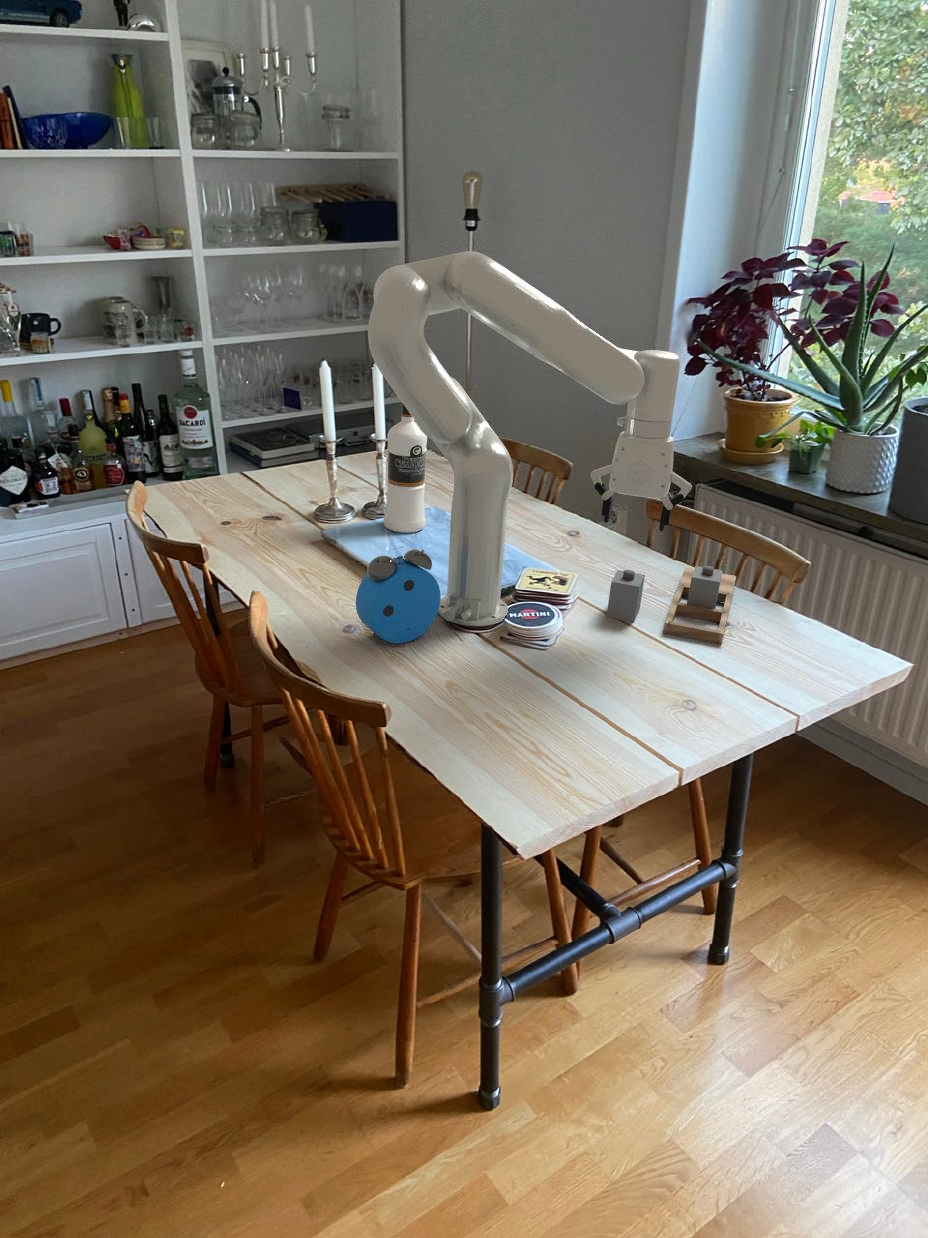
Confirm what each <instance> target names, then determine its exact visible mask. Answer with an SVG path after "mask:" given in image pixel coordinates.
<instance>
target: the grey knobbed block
mask: <svg viewBox="0 0 928 1238" xmlns="http://www.w3.org/2000/svg"><path fill="white" fill-rule="evenodd" d="M723 571H724V570H721V569H717V568H715V567H713V566H710V565H703V566H697V565H695V566H694V572H693V575H692V578H691V584H690V589H689V595H688V597H687V601H686V604H690V605H696V606H701V607H706V608H712V609H716V606H717V604H718V603H717V598H718V593H719V587H720V582H721V577H722V574H723Z"/></svg>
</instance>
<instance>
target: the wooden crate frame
mask: <svg viewBox="0 0 928 1238" xmlns="http://www.w3.org/2000/svg"><path fill="white" fill-rule="evenodd" d="M694 569H695V567H693V568H692V567H688V566H685V567H684V569H683V572H682V575H681V577H680V580H679V583H678V585H677V589H676V592H675V594H674V597H673V600H672V603H671V605H670V608H669V609H668V613H667V615H666V619H665V621H664V628H663V631H662V633H663V634H666V635H667V634H668V635H672V636H676V637H678V636H679V637H682V638H686V639H692V640H697V641H698V640H699V641H701V642H702V641H703V642H709V643H713V644H717V645H722V643H723V638H724V635H725V629H726V625H727V621H728V616H729V612H730V607H731V603H732V598H733V595H734V594H733V593H734V589H735V584H736V580H737V575H733V574H729V573H728V574H727V573H722V577H721V582H720V587H719V593H718V598H717V602H724V604H723V609H716V608H715V609H712V608H706V607H701V606H696V605H690V604H687V603H685V602H684V603H683V602H681V600H682V598H683V597H684V598H688V595H689V589H690V584H691V578H692V575H693V572H694ZM677 615H678V616H682V617H683V616H684V617H689V618H694V619H698V620H703V621H704V620H705V621H709V620H710V621H709V622H714V621H716V622H715V623H719V622H720V623H719V624H718V629H713V628H708V627H707V628H706V627H703V626H697V625H692V624H686V623H682V622H676V621H674V620H675V618H676V616H677Z"/></svg>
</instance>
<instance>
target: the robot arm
mask: <svg viewBox="0 0 928 1238" xmlns="http://www.w3.org/2000/svg"><path fill="white" fill-rule="evenodd" d="M373 302H374V303H373V306H372V309H371V312H370V316H369V319H368V326H367V339H368V340H367V341H368V345H369V346H368V347H369V351H370V355H371V357H372V359H373V362H374V364H375V365H376V366H377V368H378V370H379V372H380V373H381V374H382V377H383V378H384V379H385V380H386V382H387V383H388V385H389V386H390V387H391V389H392V390H393V392H394V393H395V394H396V397H398V399H399V400H400V402H401V403H403V404H404V406H405V407H406V408H407V410H408V411H409V412H410V414H411V415H412V417H413V418H414V422H415V423H416V424H417V425H418V427H419V428H420V430H421V431H422V432H423V433H424V434H425V435H426V436H427V438H428V439H431V441H432V442H433V443H434V444H435V446H436V448H437V449H438V450H439V451H440V453H442V456H444V457H445V459H446V460H447V462H448V463H449V465H450V466H451V469H452V471H453V475H454V476H453V478H454V480H453V493H452V501H451V507H450V508H451V509H450V522H449V523H450V524H449V529H450V531H449V533H450V534H449V547H448V548H449V550H448V551H449V552H448V565H447V566H448V568H447V584H446V585H447V586H446V587H447V589H446V595H445V596H443V597H441V598H440V606H439V610H438V613H437V614H439V615H440V617H442V618H443V619H445V621H448V622H451V623H454V624H457V625H460V626H465V627H466V626H467V627H487V626H493V625H495V624H499V623H501V622H502V621H504V620H503V618H504V617H505V616H506V615H507V616H508V614H507V613H509V607H508V604H507V603H506V602H505V601H504V600H503V599H501V592H502V581H503V579H502V578H503V571H504V570H503V568H504V557H505V556H504V555H505V554H504V553H505V543H506V532H507V531H506V529H507V520H508V519H507V518H508V517H507V516H508V511H509V510H508V509H509V503H510V495H511V492H512V487H513V480H514V465H513V462H512V461H513V460H512V458H511V455H510V453H509V451H508V449H507V448H506V446H505V444H504V442H502V441H501V439H500V438H499V436H498V435H497V433H496V432H495V431H494V430H493V428H492V427H491V425H490V424H489V422H488V421H487V420H486V419H485V416H483V414H482V413H481V411H480V410H479V409H478V407H477V406H476V404H475V403H474V402H473V401H472V399H471V398H470V396H469V395H468V394H467V392H466V391H465V389H464V388H463V386H462V385H461V384H460V382H459V381H457V379H455V378H454V377H452V376H450V375H449V373H448V371H447V370H446V368H445V367H443V365H442V363H441V362H440V361H439V359H438V357H437V356H436V355H435V353H434V352H433V350H432V349H431V347H430V346H429V344H428V343H427V341H426V338H425V337H426V336H425V324H426V322H427V319H428V317H429V316H432V315H437V314H442V313H447V312H451V311H454V310H459V309H462V310H463V311H464V312H466V313H467V314H469V315H470V316H471V317H473V318H475V319H477V321H480V322H481V323H483V324H484V325H486V326H488V327H489V328H491V329H492V330H494V331H495V332H497V333H498V334H500V335H502V336H503V337H504V338H506V339H508V340H509V341H510V342H512V343H514V344H515V345H517V346H518V347H520V348H521V349H522V350H524V351H526V352H527V353H529V354H530V355H532V356H533V357H534V358H536V359H538V360H540V361H542V362H544V363H546V364H548V365H550V366H551V367H554V368H555V369H557V370H558V371H560V372H562V373H563V374H565V375H566V376H567V377H569V378H571V379H573V381H575V382H576V383H578V384H580V385H582V386H583V387H585V388H586V389H588V390H589V391H591V392H592V393H594V394H595V395H597V396H598V397H600V398H601V399H603V400H604V401H606V402H608V403H609V404H612V405H621V406H622V405H626V404H627V410H626V415H625V416H622V417H617V420H616V425H617V426H621V427H622V428H623V431H622V432H621V431H620V433H619V434H618V436H617V437H618V438H617V440H616V443H615V448H614V452H613V458H612V463H611V464H608V465H605V466H602V467H599V468H595V469H594V470H592V471H591V472H590V475H589V476H590V478H591V480H592V483H593V486H594V489H595V490H596V491H597V493H598V495H599V496H600V498H601V499H602V506H601V508H602V509H601V517H604V518H603V519H604V520H603V523H606V524H607V523H609V522H610V520H611V519H612V512H613V506H614V505H613V504H614V497H613V495H614V494H620V495H625V496H631V497H632V496H633V497H634V496H635V497H640V498H648V499H656V500H660V501H661V502H662V504H663V507H662V509H661V515H660V522H659V528H658V530H659V531H660V532H664V530H665V527H666V526H667V527H669V525H670V521H671V515H672V509H673V508H675V507H676V506H677V505H678V504H680V503H681V502H683V501H684V499H685V498H686V497H687V496H688V494H689V493H690V491H692V488H693V485H692V484H691V482H688V481H687V480H686V479H685V478H683V477H682V476H680V475H679V474H677V473H675V472H674V470H673V469H674V454H675V453H674V450H675V449H674V447H675V446H674V437H672V436H671V430H672V429H671V428H672V424H673V423H672V422H673V418H674V417H673V416H674V410H675V403H676V397H677V396H676V395H677V390H678V389H677V388H678V382H679V375H680V370H681V369H680V368H681V359H680V357H679V356H678V355H677V354H676V353H674V352H671V351H665V350H657V349H656V350H655V349H646V350H642V351H641V350H640V351H639V350H631V349H626V348H621V347H620V348H619V347H617V346H616V345H614V344H613V343H611V342H610V341H608V340H607V339H605V338H604V337H603V336H600V334H598V333H597V332H595V331H594V330H592V329H591V328H589V327H588V326H587V325H585V324H584V323H583V322H581V321H580V320H579V319H577V318H576V317H575V315H573V314H571V312H569V311H568V310H567V309H565V308H564V306H562V305H560V304H559V303H557V302H556V301H554V299H551V297H549V296H547V295H545V294H544V293H543V292H541V291H540V290H539V289H537V288H536V287H533V285H530V284H529V282H526V281H525V280H524V279H522V278H520V277H519V276H518V275H516V274H515V273H513V272H512V271H510V270H509V269H508V268H506V267H504V266H503V265H502V264H500V263H498V262H497V261H496V260H494V259H493V258H491V257H490V256H487V255H486V254H484V253H481V252H478V251H476V250H475V251H474V250H468V251H467V250H466V251H461V252H457V253H451V254H447V255H442V256H439V257H433V258H432V257H431V258H428V259H427V258H426V259H423V260H419V261H418V260H417V261H413V262H409V263H404V264H399V265H397V264H396V265H394V266H391V267H389V268H387V269H385V270H384V271H383V272H382V273H381V274H380V275H379V276H378V278H377V279H376V281H375V284H374V286H373ZM606 475H609V481H608V487H607V486H606V485H605V483H603V481H602V477H603V476H606ZM672 483H673V484H674V485H676V486H678V487H679V488H680V490H679V492H678V493H677V494H675V495H674V496H672V495H671V493H670V492H669V491H670V489H671V485H672Z"/></svg>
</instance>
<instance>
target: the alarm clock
mask: <svg viewBox="0 0 928 1238" xmlns="http://www.w3.org/2000/svg"><path fill="white" fill-rule="evenodd" d="M432 568H433V562H432V558H431V557H430V555H428V553H426V552H425V550H424V549H421V550H419V549H411V550H410V549H409V550H408V551H406V552H405V553H404V555H400V556H396V557H391V556H390V555H378V556H377V557H374V558H372V560H371V561H370V562H369V563H368V565H367V568H366V574H365V576H364V577H363V578H362V580H361V582H360V584H359V586H358V588H357V591H356V597H355V608H356V613H357V615H358V616H357V617H358V619H359V620H360V621H361V623H362V624H363V625H364V626H365V627H367V629H369V630H370V631H372V632H373V633H372V637H373V638H375V637H376V636H378V637H379V638H381V639H382V640H384V641H386V642H388V643H390V644H405V643H409V642H411V641H413V640H416V639H417V638H419V637H420V636H422V635H423V634H424V633H426V631H427V630H428V629H429V628H430V627H431V625H432V624H433V622H434V621H435V620H436V617H437V615H438V614H439V613H438V610H439V606H440V599H441V598H442V597H441V589H440V586H439V584H438V581H437V580H436V578H435V577H434V575H433V574H431V573H430V572H429V571H431V570H432ZM427 570H428V571H427Z"/></svg>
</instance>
